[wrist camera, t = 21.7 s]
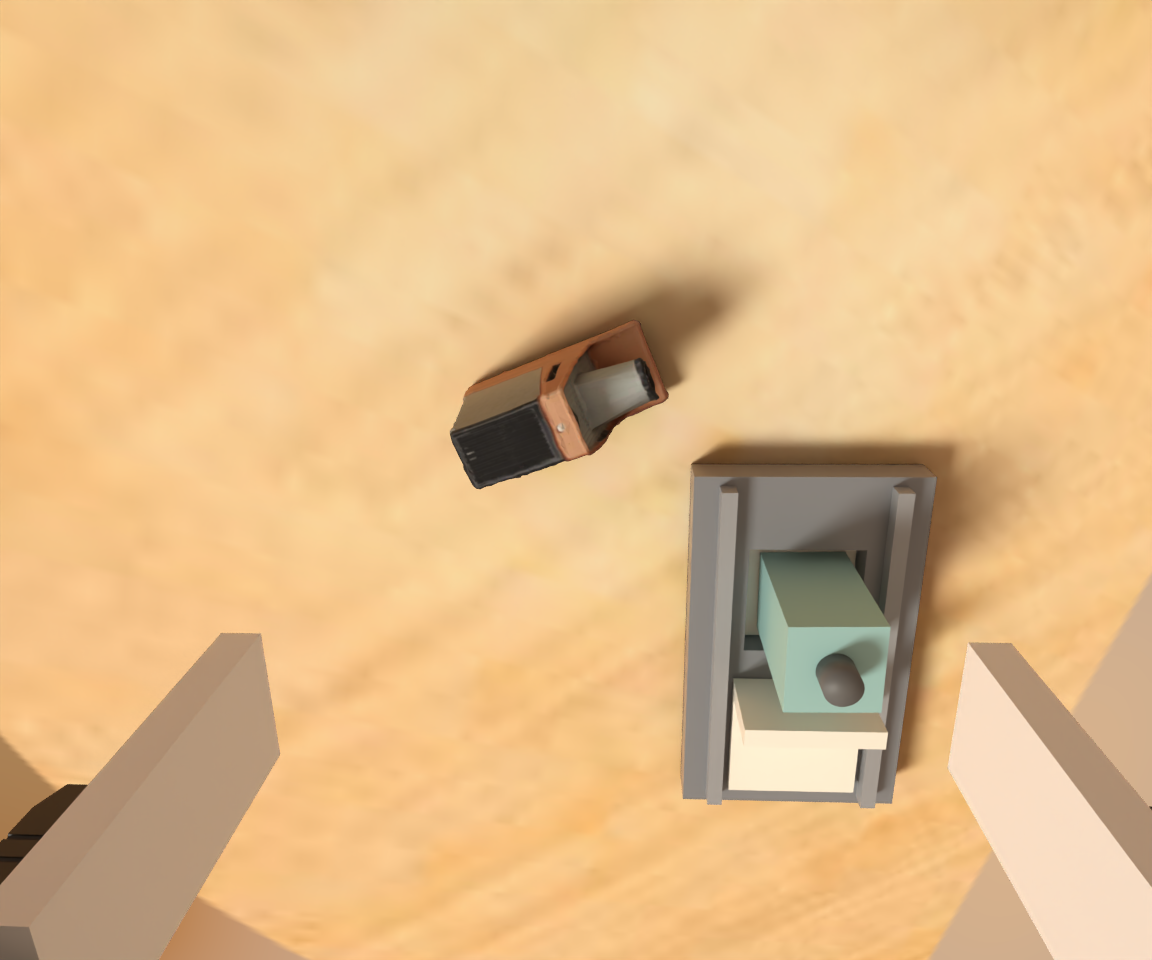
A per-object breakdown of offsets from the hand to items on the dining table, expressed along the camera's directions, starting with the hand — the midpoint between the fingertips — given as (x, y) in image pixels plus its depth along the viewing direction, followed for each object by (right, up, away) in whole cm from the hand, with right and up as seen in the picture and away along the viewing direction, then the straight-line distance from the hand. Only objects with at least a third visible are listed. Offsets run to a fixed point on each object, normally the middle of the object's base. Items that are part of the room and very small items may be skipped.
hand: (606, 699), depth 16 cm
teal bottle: (+12, -2, +30) cm, 32 cm away
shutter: (+12, -10, +31) cm, 35 cm away
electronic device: (-1, +9, +28) cm, 29 cm away
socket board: (+12, -5, +31) cm, 34 cm away
